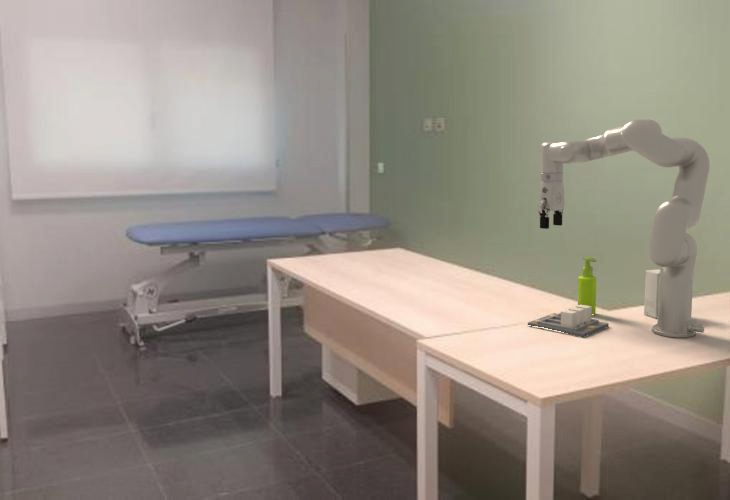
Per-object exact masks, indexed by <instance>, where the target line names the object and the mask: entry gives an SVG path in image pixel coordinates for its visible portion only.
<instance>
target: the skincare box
mask: <svg viewBox="0 0 730 500" xmlns="http://www.w3.org/2000/svg"><path fill="white" fill-rule="evenodd" d="M659 276H660V269H648V270H647V269H646V270H645V283H644V284H645V285H644V288H645V289H644V305H643V314H644V315H645V316H646V317H651V318H654V319H658V297H659Z"/></svg>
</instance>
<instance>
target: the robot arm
mask: <svg viewBox="0 0 730 500" xmlns="http://www.w3.org/2000/svg"><path fill="white" fill-rule="evenodd" d="M660 125H661V124H659V123H658V122H657V121H656V120H653V119H634V120H630V121H629V122H627V123H626V124H625V125H620V126H617V127H613V128H612V127H611V128H609V129H607V130H605V132H604V133H603V134H601V135H598V136H596V137H595V136H594V137H591V138H587V139H583V140H567V141H562V142H561V141H549V142H547V141H545V142H542V143H541V145H540V184H541V185H540V189H539V190H540V192H539V203H538V205H537V210H538V215H539V228H540V229H544V230H545V229H546V230H548V229H549V228H550V217H549V215H550V212H553V214H552V223H553V224H552V225H553V226H559V227H560V226H563V214H564V211H563V210H564V209H565V203H566V202H565V188H564V187H565V186H564V164H566V165H567V164H568V165H569V164H570V165H571V164H577V163H578V164H579V163H580V164H581V163H582V164H583V163H586V162H590V161H595V160H599V159H603V158H607V157H612V156H616V155H621V154H624V153H628V152H635V153H636V154H638V155H640V156H641V157H643V158H645V159H646V160H648V161H650V162H651V163H653V164H655V165H657V166H659V167H663V168H675V167H678V168H679V169H678V173H677V176H676V178H675V182H674V184H673V185H674V186H673V190H672V196H671V199H668V200H665V201H664V202H663V203H661V204H660V205H659V206H658V208H657V210H656V212H655V214H654V217H653V222H652V228H651V233H650V237H649V242H648V255H649V258H650V260H651V261H652V262H653V263H654V264H655V265H656V266H658V267H660V268H659V270H660V276H659V297H658V318H657V324H654V325H652V326H651V331H652V332H653V333H654V334H655V335H660V336H663V337H669V338H678V339H679V338H690V337H691V338H692V337H694V336H695V335H696V334H697V333H701V334H702V333H703V334H704V332H705V329H706V328H705V326H704V325H703V324H697V323H696V322H695V318H692V309H693V307H692V306H693V289H694V288H693V287H694V273H695V272H694V271H695V265H696V260H697V254H698V253H697V252H698V246H697V242H696V240H695V238H694V237H693V236H692V235H691V234H689V233H687V232H686V230H687V229H689V228H692V227H694V226H695V225H696V224H697V223H698V222H699V221H700V218H701V213H702V208H703V204H704V200H705V199H704V198H705V192H706V187H707V184H708V183H707V182H708V178H709V172H710V158H709V154H708V152H707V151H706V149H705V148H704V147H703V146H702V144H700V143H699V142H698V141H696V140H693V139H691V138H689V137H669V136H667V135H665V134H664V133H663V130H662V127H661V126H660Z"/></svg>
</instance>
